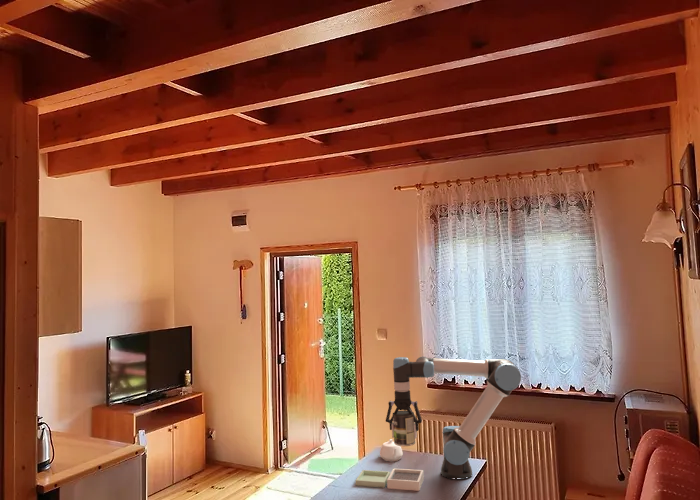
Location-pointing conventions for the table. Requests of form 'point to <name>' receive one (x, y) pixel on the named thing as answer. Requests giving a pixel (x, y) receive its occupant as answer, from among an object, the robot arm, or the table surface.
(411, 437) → the coffee can
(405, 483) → the checker cradle
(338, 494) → the table surface
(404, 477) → the plate
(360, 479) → the tray
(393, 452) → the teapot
